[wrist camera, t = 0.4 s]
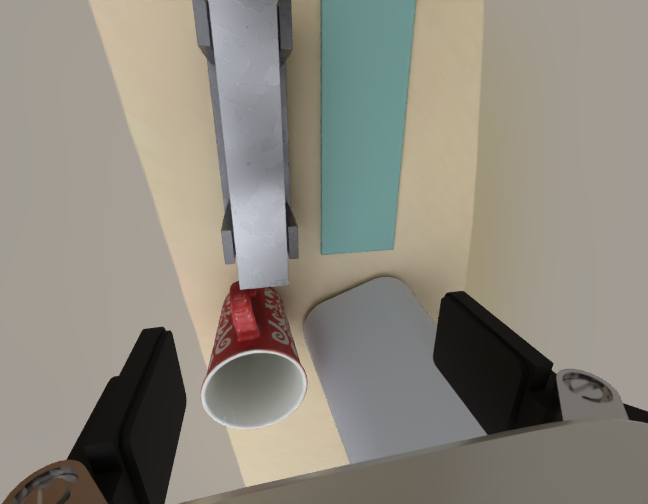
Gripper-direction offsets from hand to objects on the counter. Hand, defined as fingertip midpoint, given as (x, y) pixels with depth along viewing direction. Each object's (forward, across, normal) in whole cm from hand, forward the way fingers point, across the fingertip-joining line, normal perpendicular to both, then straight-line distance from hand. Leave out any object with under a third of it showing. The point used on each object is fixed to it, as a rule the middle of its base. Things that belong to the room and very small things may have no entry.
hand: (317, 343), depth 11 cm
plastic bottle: (+27, -11, +20) cm, 35 cm away
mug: (+27, +3, +13) cm, 30 cm away
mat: (+26, -10, -5) cm, 29 cm away
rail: (+19, +2, -5) cm, 20 cm away
